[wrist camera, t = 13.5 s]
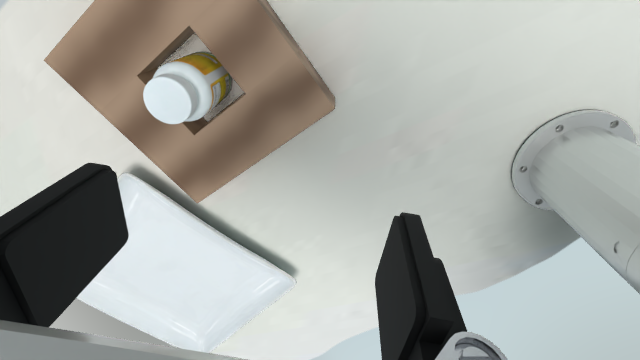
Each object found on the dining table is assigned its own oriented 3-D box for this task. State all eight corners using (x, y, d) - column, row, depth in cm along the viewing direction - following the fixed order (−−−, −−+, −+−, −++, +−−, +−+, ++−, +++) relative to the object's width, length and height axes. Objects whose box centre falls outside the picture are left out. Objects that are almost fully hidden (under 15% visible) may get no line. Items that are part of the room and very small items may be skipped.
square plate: (64, 268, 51) (45, 287, 48) (139, 156, 40) (121, 170, 37) (208, 342, 59) (200, 363, 56) (302, 266, 49) (299, 286, 45)
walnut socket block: (335, 97, 35) (334, 108, 32) (208, 186, 42) (197, 203, 38) (202, -91, 27) (183, -104, 24) (73, 53, 34) (43, 60, 31)
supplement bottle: (241, 90, 35) (212, 119, 27) (201, 108, 36) (161, 141, 28) (215, 41, 33) (174, 57, 24) (173, 62, 34) (120, 84, 26)
